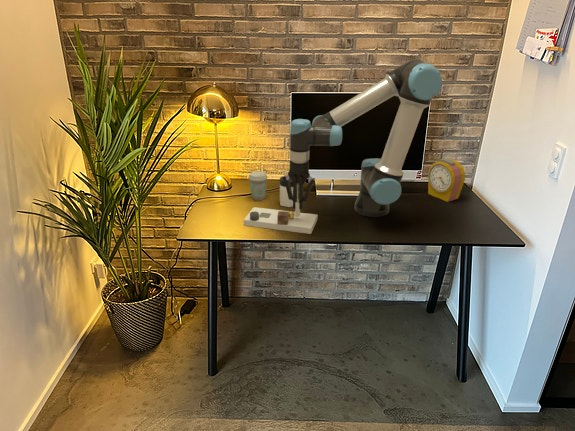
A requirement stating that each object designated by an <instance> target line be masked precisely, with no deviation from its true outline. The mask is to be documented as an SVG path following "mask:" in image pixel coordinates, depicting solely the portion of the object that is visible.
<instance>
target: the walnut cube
mask: <svg viewBox="0 0 575 431" xmlns="http://www.w3.org/2000/svg"><path fill="white" fill-rule="evenodd" d="M286 211H287V210H282V211H278V215H277V224H278V225H288V212H286Z"/></svg>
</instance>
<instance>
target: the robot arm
mask: <svg viewBox="0 0 575 431" xmlns="http://www.w3.org/2000/svg"><path fill="white" fill-rule="evenodd" d="M442 86H443V77H442V74H441V72H440V70H439V69H438V68H437V67H436V66H434V65H433V64H430V63H427V62H424V61H422V60H419V59H412V60H409V61H407V62H405V63H403V64H401V65H400V66H398V67H396V68H394V69H393V70H391V71H389V72H388V73H386V74H385V77H384V78H383V79H382V80H380V81H378V82H377V83H375V84H373V85H372V86H370V87H368V88H366V89H365V90H364V91H362V92H360V93H358V94H357V95H355V96H353V97H352V98H350V99H348V100H347V101H345V102H343V103H342V104H340V105H339V106H337V107H335V108H333V109H332V110H330V111H328V112H327V113H325V114H322V115H320V114H319V115H317V116H315V117H314V118H313V120H312V123H311V121H310V120H309V119H303V118H297V119H293V120H292V121H291V122H290V130H289V165H288V166H289V170H288V173H287V174H284V175H283V178H282V179H283V180H284V182H285V185H286V190H287V194H288V198H289V200H292V201H293V206H292V208H293V209H294V212H295V217H299V216H300V213H301V210H302V209H303V208H304V202H307V200H308V198H309V196H310V193H311V190H312V186H313V184H314V182H315V181H316V178H315V177H312V176H310V175H311V174H310V171H309V170H310V161H309V160H310V146H311V147H312V146H315V147H317V146H318V147H325V146H326V147H334V146H335V147H336V146H340V145H341V144H342V141H343V128H342V127H343V126H345V125H346V124H348V123H350V122H352V121H353V120H355V119H356V118H358V117H360V116H362V115H363V114H365V113H367V112H369V111H370V110H372V109H374V108H375V107H376V106H379V105H380V104H382V103H384V102H386V101H388V100H389V99H391V98H392V97H394V96H395V97H398V99H399V101H400V104H399V106H398V110H397V112H396V115H395V118H394V121H393V123H392V127H391V129H390V132H389V136H388V139H387V141H386V143H385V147H384V150H383V153H382V156H381V158H377V157H376V158H365V159H363V160H362V162H361V166H360V168H361V169H360V170H361V172H360V182H359V184H360V185H359V194H358V196H357V198H356V199H355V202H354V205H353V206H354V208H353V209H354V211H355V212H356V213H357V214H359V215H361V216H364V217H370V218H380V217H384V216H386V215H388V214H389V213H390V205H391V204H392V203H395V202H396V201H397V200H398V199H399V198H400V196H401V195H402V185H401V182H402V179H403V177H404V174H405V173H404V172H403V170H402V168H403V166H404V163H405V160H406V157H407V154H408V152H409V149H410V147H411V144H412V141H413V138H414V136H415V133H416V130H417V127H418V124H419V122H420V119H421V117H422V114H423V112H424V109H426V108H428V107H429V106H430V105H431V102H432V100H433V98H435V97H436V96H437V95H438V94H439V92H441V89H442ZM289 177H290V179H291V180H292V182H293V194H292V190H291V186H290V181H289ZM307 180H308V185H307V187H306V190H305V192H304V189H305V183H306V181H307ZM297 187H298V200H297ZM304 193H305V194H304Z"/></svg>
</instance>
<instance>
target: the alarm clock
mask: <svg viewBox="0 0 575 431" xmlns="http://www.w3.org/2000/svg"><path fill="white" fill-rule="evenodd" d="M427 180H428V181H427V182H428V184H427V186H428V187H427V189H428V191H427V194H428V195H431V196H432V197H434V198H438V199H440V200H442V201H445V202H447V203H448V202H452V201H455V200H457V199H459V197H460V194H461V191H462V189H463V186H464V184H465V181H466V172H465V169H464V167H463V165H462V164H461V163H460V162H459V161H458V160H456V159H452V158H440V159H439V161H436V162H434V163H432V164H431V166H430V167H429V169H428V172H427Z"/></svg>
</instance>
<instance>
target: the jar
mask: <svg viewBox="0 0 575 431" xmlns="http://www.w3.org/2000/svg"><path fill="white" fill-rule="evenodd" d="M283 176H284V175H283ZM283 176H280V178H279V205H280V206H282V207H286V208H293V201H292V200H289V198H288V194H287V190H286V185H285V182H284V180H283V179H282V178H283ZM289 181H290V186H291V190H292V194H293V182H292V180H291V179H290V177H289ZM297 200H299V186H298V187H297Z"/></svg>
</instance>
